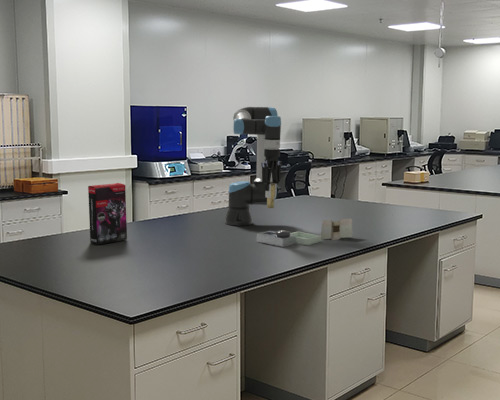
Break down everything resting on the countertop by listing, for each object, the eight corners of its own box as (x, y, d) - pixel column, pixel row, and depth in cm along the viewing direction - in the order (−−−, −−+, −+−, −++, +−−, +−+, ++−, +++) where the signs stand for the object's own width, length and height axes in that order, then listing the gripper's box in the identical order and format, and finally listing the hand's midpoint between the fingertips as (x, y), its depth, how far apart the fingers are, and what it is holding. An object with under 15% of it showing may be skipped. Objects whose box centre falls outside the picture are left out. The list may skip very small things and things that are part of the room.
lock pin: (265, 207, 295) (266, 182, 293) (269, 206, 297) (270, 182, 296) (271, 208, 293) (271, 183, 291) (275, 207, 295) (276, 183, 293)
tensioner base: (256, 241, 296) (256, 228, 295) (269, 238, 304) (269, 225, 303) (282, 247, 286) (283, 233, 285) (295, 243, 293) (295, 230, 292)
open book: (355, 247, 307) (354, 223, 317) (353, 236, 301) (352, 213, 311) (322, 249, 311) (323, 226, 321) (320, 239, 305) (320, 216, 315)
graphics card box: (96, 245, 280) (95, 187, 275) (88, 243, 284) (87, 185, 280) (127, 240, 292) (127, 184, 288) (118, 238, 297) (118, 182, 292)
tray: (283, 240, 299) (283, 234, 299) (298, 237, 308) (298, 231, 308) (306, 245, 290) (307, 239, 290) (321, 241, 299) (321, 235, 299)
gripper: (267, 150, 282) (265, 199, 286) (289, 148, 294) (287, 196, 298) (254, 148, 287) (253, 198, 290) (276, 147, 299) (275, 194, 303)
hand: (270, 197), depth 294 cm, fingers closed on lock pin, 3 cm apart
